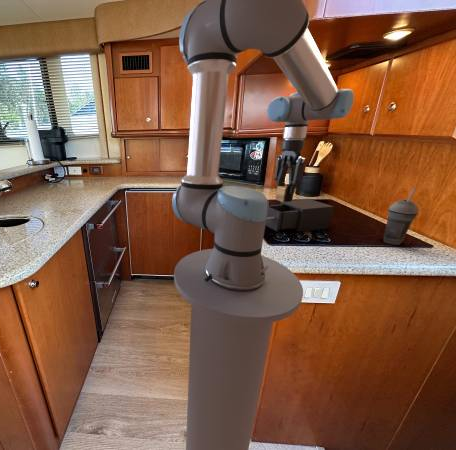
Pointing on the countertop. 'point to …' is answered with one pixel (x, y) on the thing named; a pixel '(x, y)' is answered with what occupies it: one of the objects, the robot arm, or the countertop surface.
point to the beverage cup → (399, 220)
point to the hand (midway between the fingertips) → (283, 199)
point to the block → (281, 193)
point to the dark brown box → (311, 214)
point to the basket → (282, 217)
